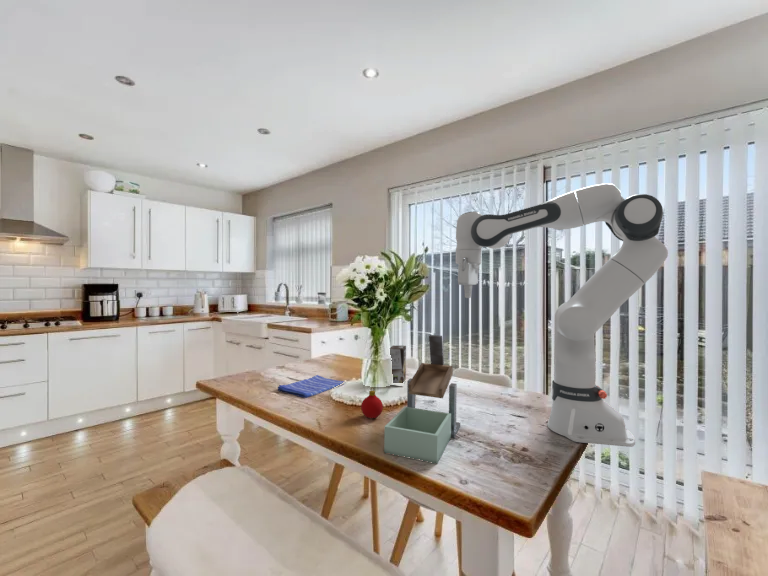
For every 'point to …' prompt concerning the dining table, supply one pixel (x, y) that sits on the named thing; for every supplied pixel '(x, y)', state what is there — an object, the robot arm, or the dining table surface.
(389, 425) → the tub
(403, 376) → the coffee box
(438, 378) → the lever tray
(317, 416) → the dining table surface
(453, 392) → the lever stand
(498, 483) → the dining table surface
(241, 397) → the dining table surface
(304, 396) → the dish towel
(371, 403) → the christmas ornament
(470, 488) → the dining table surface
